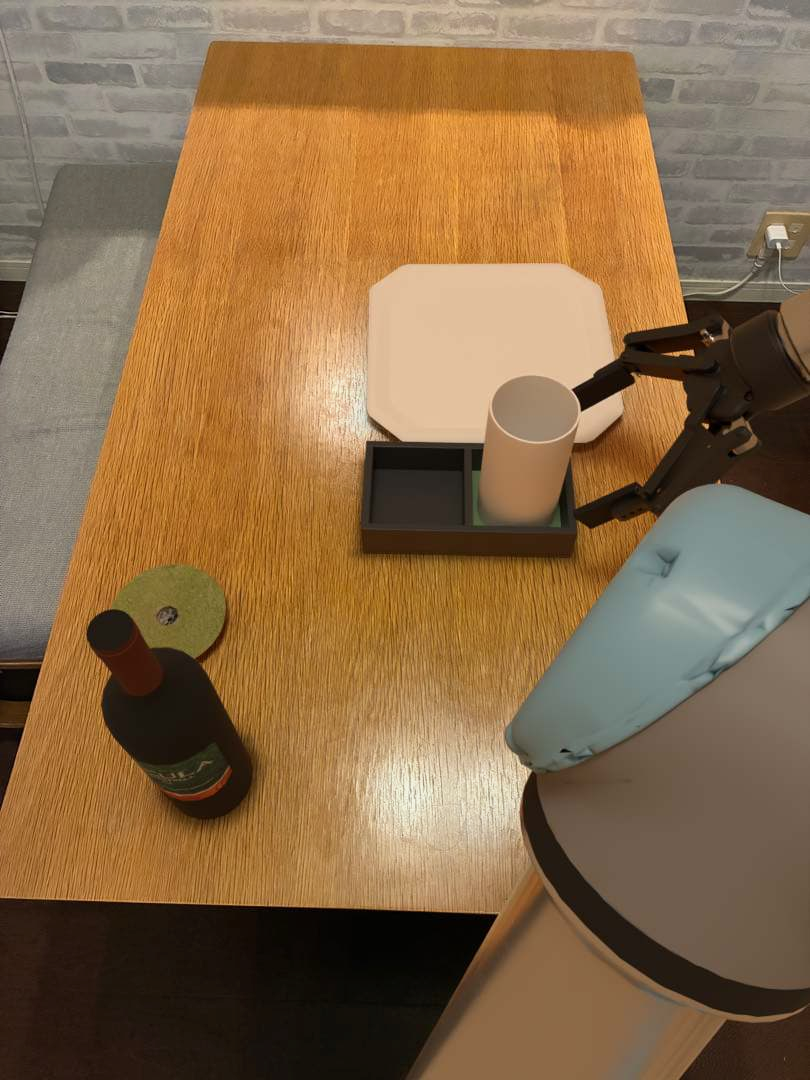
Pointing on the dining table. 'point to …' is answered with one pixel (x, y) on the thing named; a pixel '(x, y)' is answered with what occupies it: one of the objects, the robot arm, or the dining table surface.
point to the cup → (526, 450)
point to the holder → (447, 505)
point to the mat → (175, 607)
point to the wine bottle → (170, 719)
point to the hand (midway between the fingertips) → (575, 459)
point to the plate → (480, 344)
